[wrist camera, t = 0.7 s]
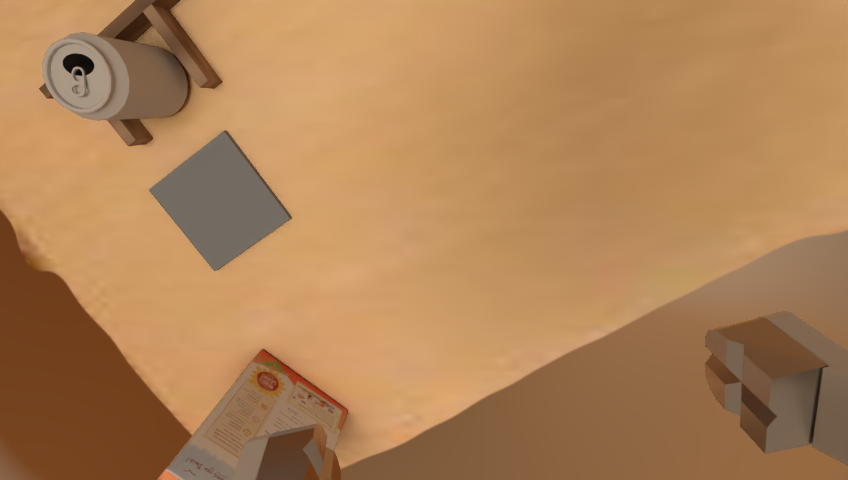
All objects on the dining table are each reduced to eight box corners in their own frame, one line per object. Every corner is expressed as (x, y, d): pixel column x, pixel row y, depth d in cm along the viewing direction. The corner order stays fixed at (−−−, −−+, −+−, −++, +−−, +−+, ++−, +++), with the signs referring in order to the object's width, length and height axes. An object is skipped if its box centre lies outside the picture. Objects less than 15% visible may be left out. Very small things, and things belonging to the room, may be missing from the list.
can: (188, 47, 51) (109, 30, 40) (195, 119, 53) (121, 122, 42) (122, 45, 52) (25, 27, 40) (131, 116, 54) (41, 119, 42)
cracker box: (238, 377, 62) (131, 507, 42) (263, 346, 60) (165, 466, 40) (323, 439, 64) (260, 592, 43) (350, 410, 62) (297, 555, 42)
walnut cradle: (61, 89, 53) (39, 88, 50) (188, -25, 49) (171, -33, 46) (121, 163, 55) (103, 166, 52) (249, 59, 51) (236, 56, 48)
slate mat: (151, 189, 56) (148, 189, 55) (226, 130, 53) (223, 130, 53) (217, 269, 58) (214, 271, 57) (291, 217, 55) (290, 218, 55)
